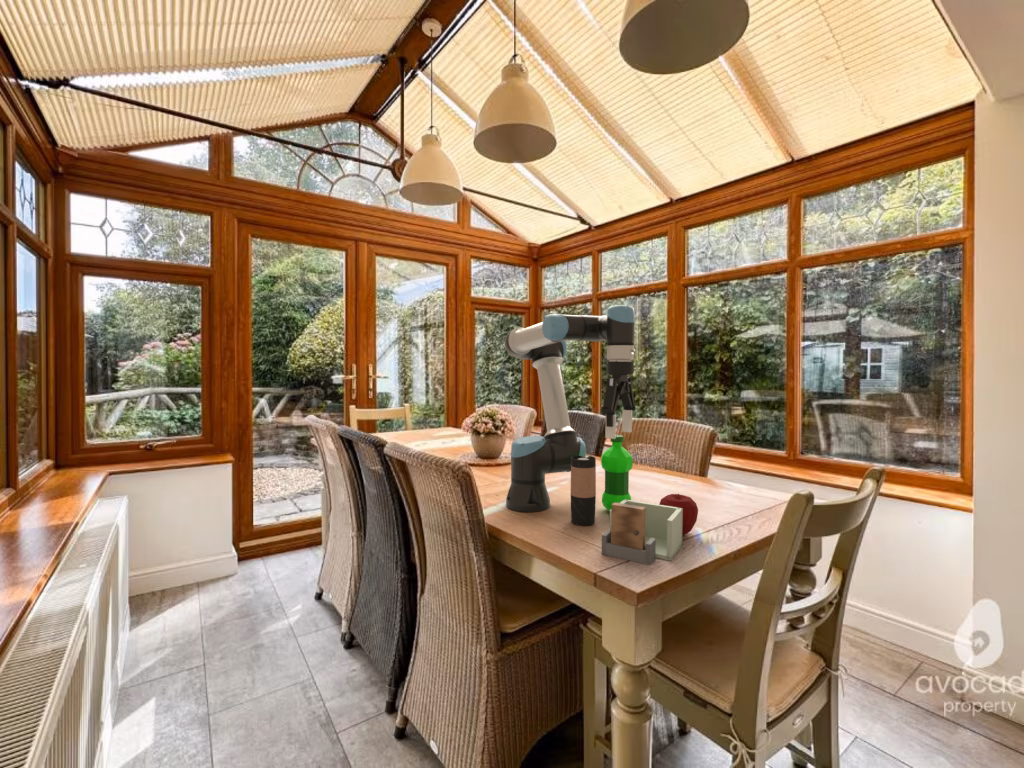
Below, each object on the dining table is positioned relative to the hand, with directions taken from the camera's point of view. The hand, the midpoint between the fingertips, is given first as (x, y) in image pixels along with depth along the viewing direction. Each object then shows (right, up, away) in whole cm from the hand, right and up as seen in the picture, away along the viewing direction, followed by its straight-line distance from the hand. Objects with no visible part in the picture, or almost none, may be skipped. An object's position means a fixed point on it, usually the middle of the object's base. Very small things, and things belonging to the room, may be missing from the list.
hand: (619, 435), depth 134 cm
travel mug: (-9, -28, +10) cm, 31 cm away
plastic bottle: (+4, -28, +21) cm, 35 cm away
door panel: (-1, -29, -16) cm, 33 cm away
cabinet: (+4, -29, -12) cm, 31 cm away
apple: (+17, -28, 0) cm, 33 cm away
